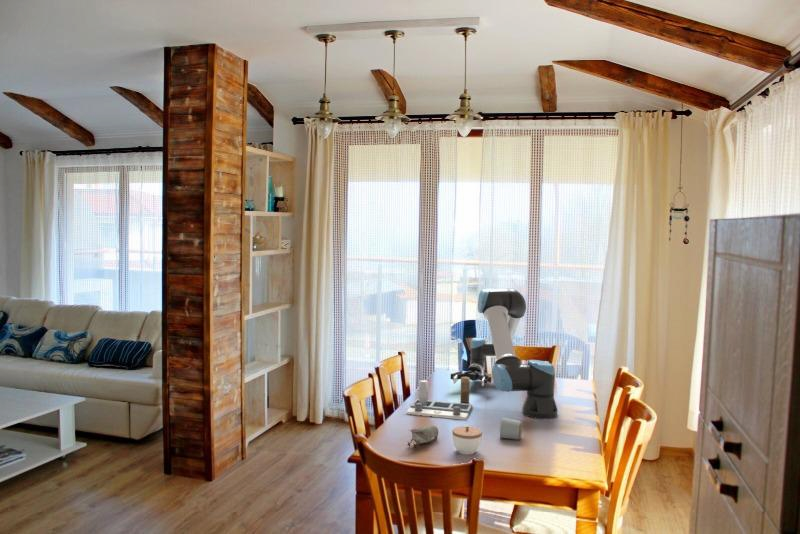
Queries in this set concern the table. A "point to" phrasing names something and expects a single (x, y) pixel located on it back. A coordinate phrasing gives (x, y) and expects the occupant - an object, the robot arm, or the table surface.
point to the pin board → (431, 404)
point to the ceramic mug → (510, 429)
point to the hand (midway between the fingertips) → (468, 382)
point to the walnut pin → (465, 390)
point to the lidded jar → (467, 439)
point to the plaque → (438, 412)
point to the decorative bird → (423, 434)
